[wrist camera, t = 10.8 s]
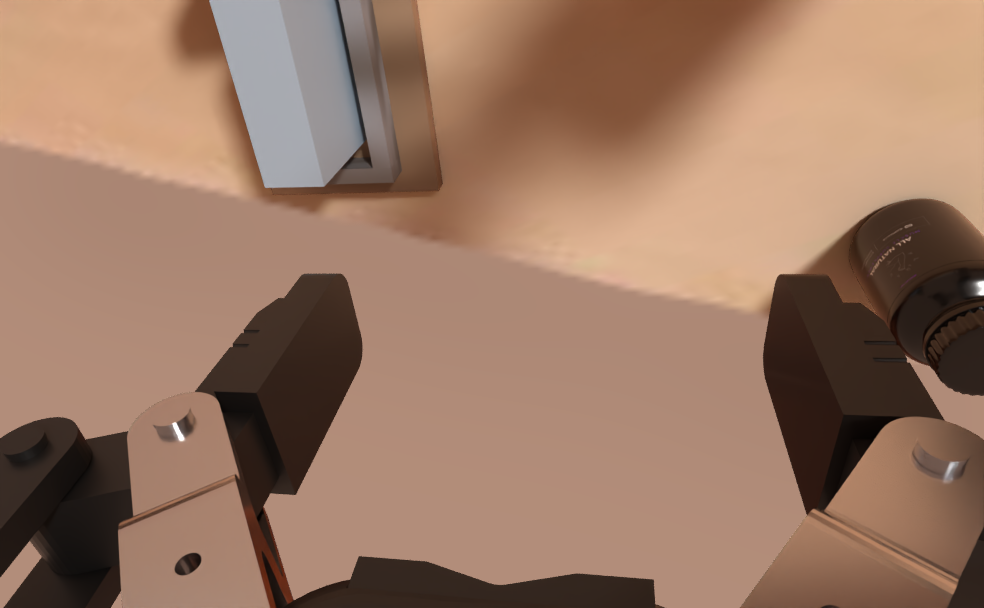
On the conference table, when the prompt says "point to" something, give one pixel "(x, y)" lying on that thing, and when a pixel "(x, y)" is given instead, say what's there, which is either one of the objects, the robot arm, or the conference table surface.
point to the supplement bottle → (927, 286)
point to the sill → (387, 103)
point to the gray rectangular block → (293, 86)
